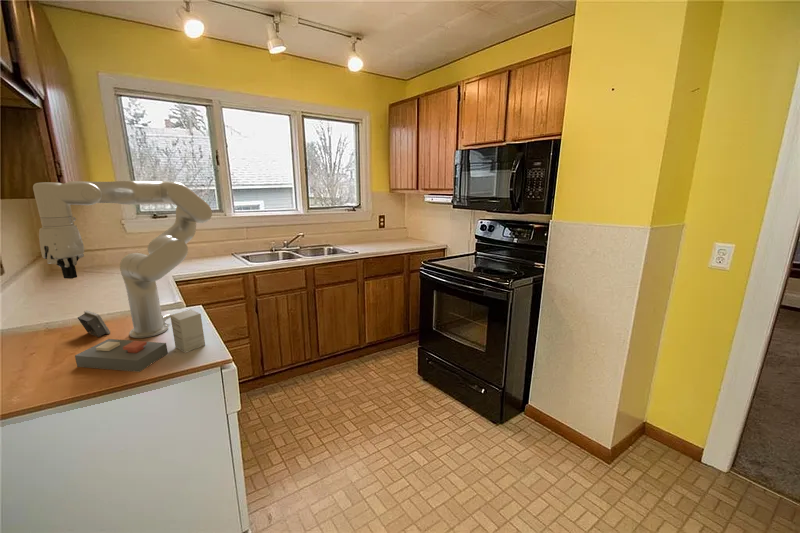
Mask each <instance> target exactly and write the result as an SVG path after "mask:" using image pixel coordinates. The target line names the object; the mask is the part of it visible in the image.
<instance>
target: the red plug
mask: <svg viewBox="0 0 800 533" xmlns="http://www.w3.org/2000/svg"><path fill="white" fill-rule="evenodd" d="M132 341H133V342H131V343H129V344H127V345H125V346H124V347H123V350H128V353H138V352H139V351H141V350H143V349H144V347H143V346H145V345H146V344H147V343H146V342H147V341H145V342H144V340H143V341H142V340H132Z"/></svg>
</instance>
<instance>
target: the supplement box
mask: <svg viewBox="0 0 800 533" xmlns="http://www.w3.org/2000/svg"><path fill="white" fill-rule="evenodd" d="M170 317H171V318H170V322H171V328H172V329H171V330H172V333H173V335H172V336H173V340H174V341H173V342H174V346H175V348H177V349H179V350H180V351H181V352H183V353H188V352H190V351H193V350H196V349H198V348H201V347H204V346H205V345H206V342H205V336H204V329H203V328H204V327H203V321H202V313H200V312H197V311H195V310H193V309H191V308H190V309H186V310H184V311H180V312H176V313H173V314H170Z"/></svg>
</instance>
